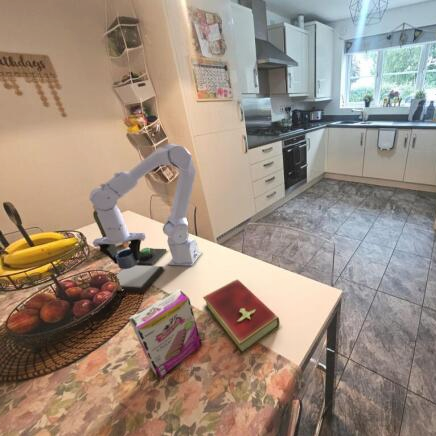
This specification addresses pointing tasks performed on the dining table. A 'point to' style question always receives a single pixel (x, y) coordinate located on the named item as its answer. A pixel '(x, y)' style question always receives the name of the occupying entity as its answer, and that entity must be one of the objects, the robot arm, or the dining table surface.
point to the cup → (126, 259)
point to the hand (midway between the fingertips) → (128, 260)
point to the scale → (138, 278)
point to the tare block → (151, 257)
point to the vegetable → (98, 221)
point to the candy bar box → (167, 332)
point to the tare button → (145, 251)
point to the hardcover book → (241, 315)
